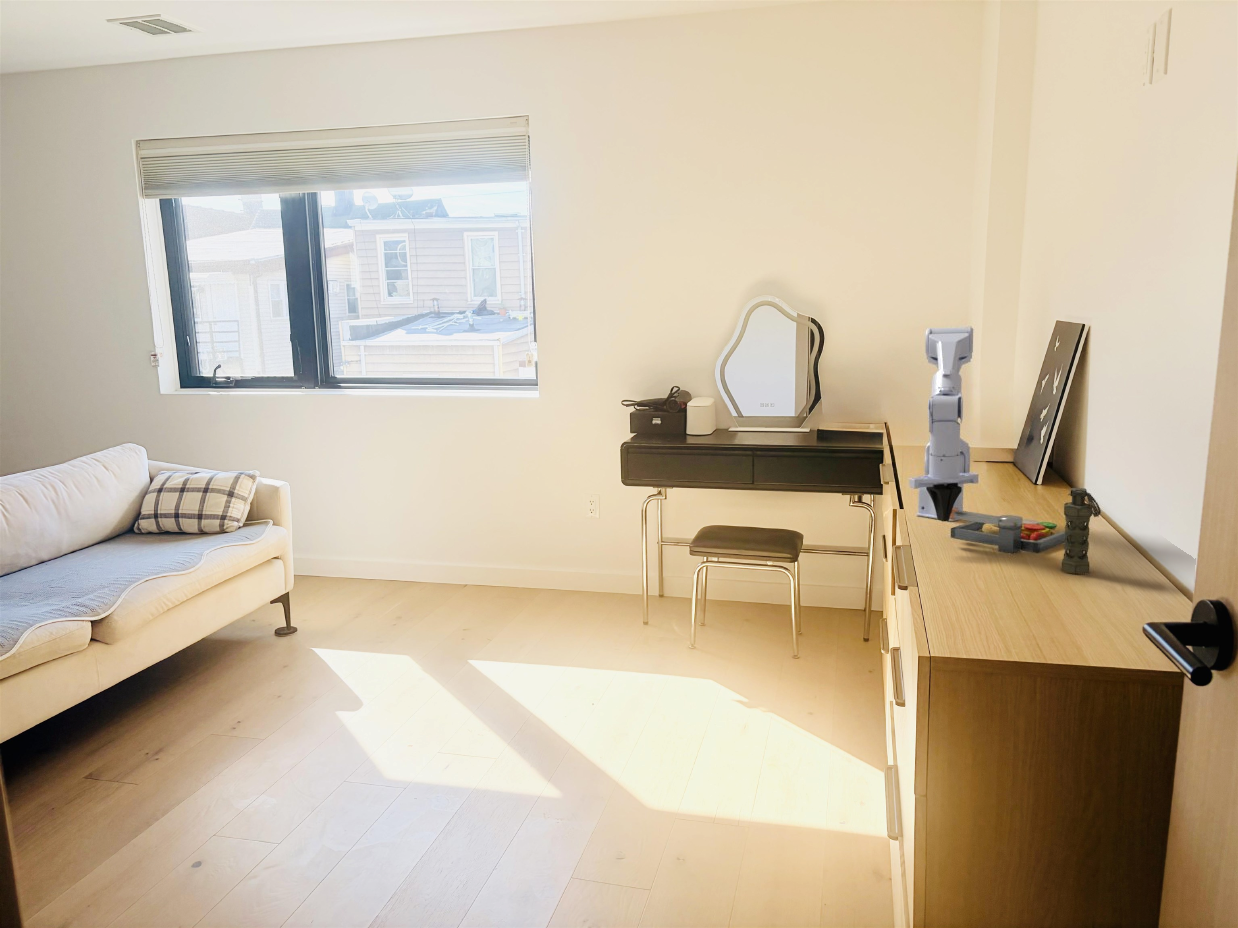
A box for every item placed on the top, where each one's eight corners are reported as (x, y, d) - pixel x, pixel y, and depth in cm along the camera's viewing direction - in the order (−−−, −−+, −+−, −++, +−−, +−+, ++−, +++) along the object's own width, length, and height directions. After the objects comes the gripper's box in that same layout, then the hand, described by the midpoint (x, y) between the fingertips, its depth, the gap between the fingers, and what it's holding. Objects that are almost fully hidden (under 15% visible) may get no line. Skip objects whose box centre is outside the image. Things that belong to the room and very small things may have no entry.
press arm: (939, 518, 178) (939, 509, 178) (951, 515, 181) (951, 505, 181) (1015, 531, 166) (1015, 521, 165) (1026, 527, 168) (1027, 517, 168)
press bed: (940, 540, 179) (941, 518, 179) (987, 525, 191) (988, 504, 190) (1028, 556, 165) (1028, 533, 164) (1073, 539, 176) (1074, 516, 175)
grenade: (1098, 578, 150) (1103, 494, 148) (1061, 575, 153) (1065, 492, 151) (1097, 564, 158) (1101, 485, 156) (1061, 562, 161) (1064, 483, 158)
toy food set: (975, 540, 180) (975, 525, 179) (1000, 528, 189) (1000, 513, 188) (1042, 550, 170) (1043, 534, 170) (1065, 537, 179) (1066, 521, 179)
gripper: (923, 459, 168) (922, 527, 170) (988, 454, 171) (986, 521, 173) (903, 455, 175) (903, 520, 177) (967, 450, 178) (965, 514, 180)
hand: (943, 520), depth 176 cm, fingers closed
